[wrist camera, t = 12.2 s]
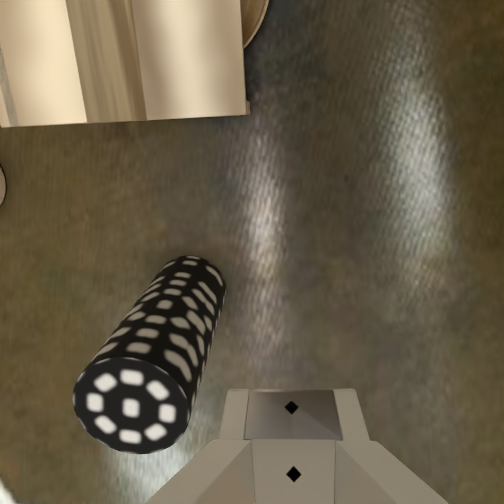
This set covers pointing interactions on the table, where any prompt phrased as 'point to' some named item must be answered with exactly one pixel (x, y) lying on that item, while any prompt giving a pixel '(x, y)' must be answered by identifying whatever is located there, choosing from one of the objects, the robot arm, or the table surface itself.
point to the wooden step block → (120, 61)
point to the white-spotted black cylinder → (153, 361)
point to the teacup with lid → (2, 186)
